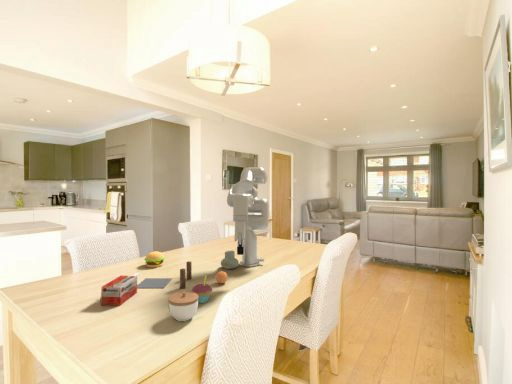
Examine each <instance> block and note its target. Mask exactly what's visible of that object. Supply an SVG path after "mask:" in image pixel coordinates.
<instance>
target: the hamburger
mask: <svg viewBox="0 0 512 384" xmlns="http://www.w3.org/2000/svg"><path fill="white" fill-rule="evenodd" d="M165 259H166V257H165V256H164V254H163V253H162V252H161V251H158V250H157V251H156V250H155V251H151V252H149V253H147V255H146V256H145V258H144V263H145V265H146V267H147V268H152V269H153V268H160V267H162V266H163V265H164V261H165Z"/></svg>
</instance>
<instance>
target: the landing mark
mask: <svg viewBox="0 0 512 384" xmlns="http://www.w3.org/2000/svg"><path fill="white" fill-rule="evenodd" d="M172 279H173V277H169V278H167V277H166V278H165V277H164V278H163V277H160V278H159V277H158V278H155V277H154V278H153V277H150V278H148V277H146V278H144V279H143V280H141V282H140V283H137V289H165V287H166V286H167V285H168V284H169V283H170V282H171V281H172Z"/></svg>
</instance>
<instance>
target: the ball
mask: <svg viewBox="0 0 512 384" xmlns="http://www.w3.org/2000/svg"><path fill="white" fill-rule="evenodd" d="M215 280H216V282H217V283H219V284H224V283H226V282H227V280H228V274H227V272H225V271H223V270H220V271H218V272H217V273H216V274H215Z"/></svg>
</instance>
